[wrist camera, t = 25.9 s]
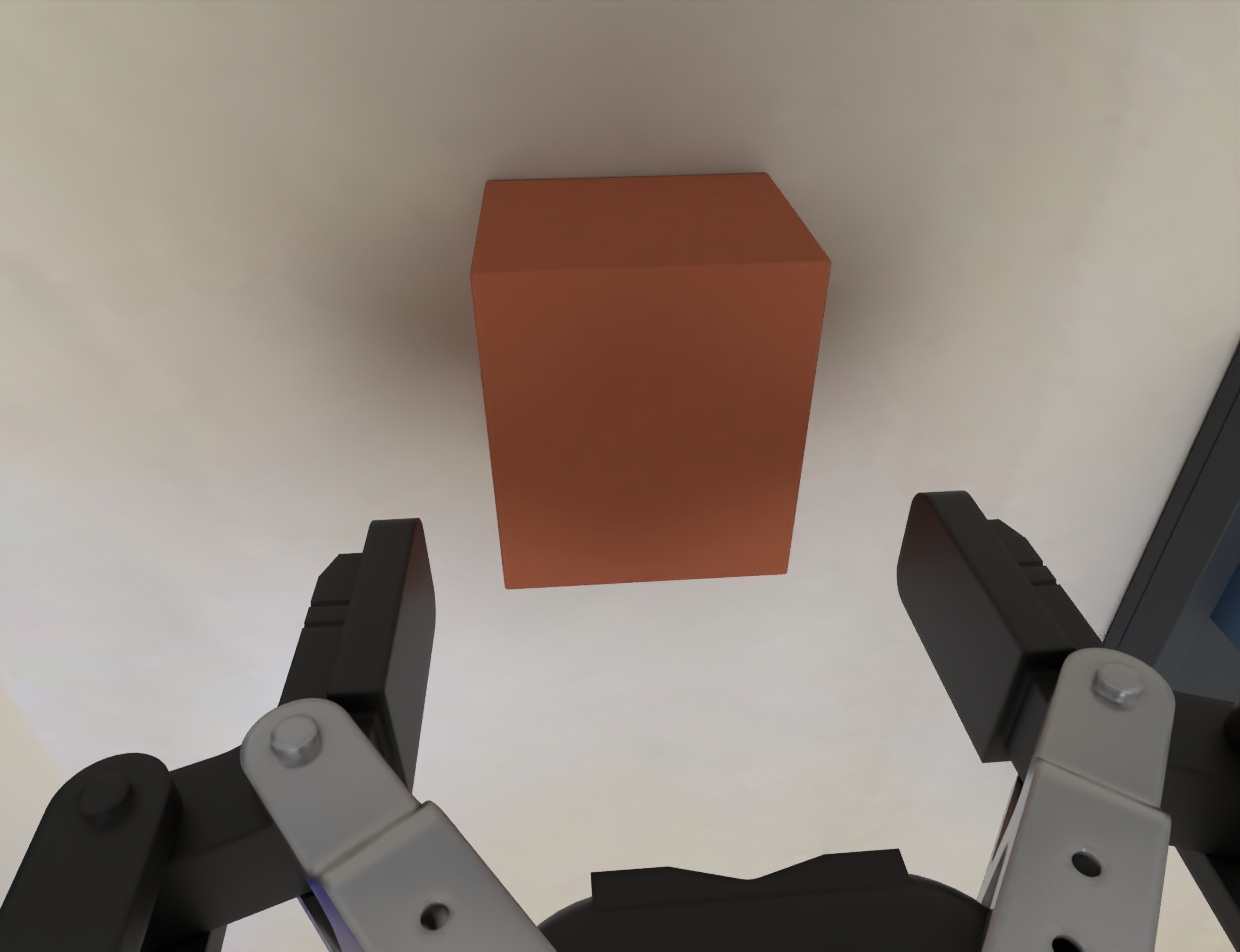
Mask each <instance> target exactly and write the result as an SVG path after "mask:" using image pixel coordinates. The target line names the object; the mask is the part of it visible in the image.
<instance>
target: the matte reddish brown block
mask: <svg viewBox="0 0 1240 952" xmlns="http://www.w3.org/2000/svg"><path fill="white" fill-rule="evenodd" d="M830 268H831V260H830V259H829V258H828V256H827V255H826V253H825V252H824V251H823V249H822V248H821V247H820V245H819V244H818V242H817V241H816V240H815V238H814V237H813V236H812V234H811V233H810V231H809V230H808V229H807V227H806V226H805V225H804V223H803V222H802V220H801V219H800V218H799V216H798V215H797V213H796V212H795V211H794V209H793V208H792V207H791V205H790V204H789V202H788V201H787V200H786V198H785V197H784V196H783V194H782V193H781V191H780V190H779V189H778V187H777V186H776V185H775V183H774V182H773V180H772V179H771V178H770V176H769V175H768V174H767V173H761V174H725V175H689V176H654V177H618V178H582V179H547V180H511V181H487V182H486V184H485V189H484V195H483V201H482V207H481V213H480V219H479V225H478V231H477V237H476V242H475V248H474V254H473V260H472V266H471V272H470V280H471V289H472V298H473V307H474V316H475V325H476V333H477V342H478V351H479V360H480V369H481V378H482V387H483V396H484V405H485V414H486V422H487V431H488V440H489V449H490V458H491V467H492V476H493V485H494V494H495V503H496V511H497V520H498V529H499V538H500V547H501V556H502V565H503V574H504V583H505V588H506V589H524V588H542V587H560V586H578V585H596V584H614V583H632V582H650V581H668V580H686V579H704V578H723V577H741V576H759V575H777V574H786V573H787V568H788V561H789V554H790V547H791V540H792V533H793V526H794V519H795V512H796V505H797V498H798V491H799V484H800V477H801V470H802V463H803V456H804V449H805V442H806V435H807V428H808V421H809V414H810V407H811V400H812V393H813V386H814V380H815V373H816V366H817V359H818V352H819V345H820V338H821V331H822V324H823V317H824V310H825V303H826V296H827V289H828V282H829V275H830Z"/></svg>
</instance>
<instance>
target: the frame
mask: <svg viewBox="0 0 1240 952" xmlns="http://www.w3.org/2000/svg"><path fill="white" fill-rule="evenodd" d="M1239 563H1240V347H1239V349H1238V351H1237V353H1236V355H1235V358H1234V360H1233V362H1232V364H1231V366H1230V369H1229V371H1228V373H1227V375H1226V377H1225V379H1224V382H1223V384H1222V386H1221V388H1220V390H1219V393H1218V395H1217V397H1216V399H1215V401H1214V404H1213V406H1212V408H1211V410H1210V412H1209V414H1208V417H1207V419H1206V421H1205V423H1204V425H1203V428H1202V430H1201V432H1200V434H1199V436H1198V438H1197V441H1196V443H1195V445H1194V447H1193V449H1192V452H1191V454H1190V456H1189V458H1188V460H1187V463H1186V465H1185V467H1184V469H1183V471H1182V473H1181V476H1180V478H1179V480H1178V482H1177V484H1176V487H1175V489H1174V491H1173V493H1172V495H1171V498H1170V500H1169V502H1168V504H1167V506H1166V508H1165V511H1164V513H1163V515H1162V517H1161V519H1160V522H1159V524H1158V526H1157V528H1156V530H1155V532H1154V535H1153V537H1152V539H1151V541H1150V543H1149V546H1148V548H1147V550H1146V552H1145V554H1144V557H1143V559H1142V561H1141V563H1140V565H1139V567H1138V570H1137V572H1136V574H1135V576H1134V578H1133V581H1132V583H1131V585H1130V587H1129V589H1128V592H1127V594H1126V596H1125V598H1124V600H1123V602H1122V605H1121V607H1120V609H1119V611H1118V613H1117V616H1116V618H1115V620H1114V622H1113V624H1112V626H1111V629H1110V631H1109V633H1108V635H1107V637H1106V640H1105V642H1104V645H1105V647H1106V648H1107V649H1111V650H1116V651H1119V652H1122V653H1125V654H1128V655H1130V656H1133V657H1135V658H1137V659H1139V660H1140V661H1142V662H1144V663H1145V664H1147V665H1148V666H1150V667H1151V668H1153V669H1154V670H1155V671H1156V672H1158V673H1159V674H1160V675H1161V676H1162V677H1163V678H1164V679H1165V681H1166V682H1167V683H1168V685H1169V686H1170V688H1171V690H1173V691H1177V692H1181V693H1187V694H1192V695H1197V696H1203V697H1208V698H1214V699H1219V700H1225V701H1230V702H1236V701H1237V699H1238V697H1239V696H1240V652H1239V650H1238V649H1237V648H1236V647H1235V646H1234V645H1233V644H1232V642H1231V641H1230V640H1229V639H1228V638H1227V637H1226V636H1225V635H1224V633H1223V632H1222V631H1221V630H1220V629H1219V628H1218V627H1217V625H1216V624H1215V623H1214V622H1213V621H1212V620H1211V619H1210V618H1209V617H1210V616H1211V614H1212V612H1213V610H1214V608H1215V606H1216V605H1217V603H1218V601H1219V599H1220V597H1221V595H1222V594H1223V592H1224V590H1225V588H1226V586H1227V584H1228V583H1229V581H1230V579H1231V577H1232V575H1233V574H1234V572H1235V570H1236V568H1237V566H1238V564H1239Z"/></svg>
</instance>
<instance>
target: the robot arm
mask: <svg viewBox="0 0 1240 952" xmlns="http://www.w3.org/2000/svg"><path fill="white" fill-rule="evenodd" d="M897 585H898V591H899V595H900V598H901V600H902V603H903V605H904V607H905V609H906V611H907V613H908V615H909V617H910V619H911V621H912V623H913V625H914V627H915V629H916V631H917V633H918V635H919V637H920V639H921V641H922V643H923V645H924V647H925V649H926V651H927V653H928V655H929V657H930V659H931V661H932V663H933V665H934V667H935V669H936V671H937V673H938V675H939V677H940V679H941V681H942V683H943V685H944V687H945V689H946V691H947V693H948V695H949V697H950V699H951V701H952V703H953V705H954V707H955V709H956V711H957V713H958V715H959V717H960V719H961V721H962V723H963V725H964V727H965V729H966V731H967V733H968V735H969V737H970V739H971V741H972V743H973V745H974V747H975V749H976V751H977V753H978V755H979V757H980V759H981V761H982V763H989V762H1003V761H1012V763H1013V765H1014V767H1015V769H1016V771H1017V773H1018V775H1017V777H1016V780H1015V782H1014V785H1013V787H1012V790H1011V793H1010V797H1009V800H1008V803H1007V806H1006V809H1005V813H1004V816H1003V819H1002V822H1001V825H1000V829H999V832H998V835H997V838H996V841H995V844H994V848H993V851H992V854H991V857H990V860H989V864H988V867H987V870H986V873H985V876H984V879H983V882H982V885H981V888H980V891H979V894H978V897H977V899H976V900H975V899H974V898H972V897H970V896H968V895H966V894H964V893H962V892H960V891H958V890H957V889H955V888H952V887H950V886H947V885H945V884H942V883H940V882H938V881H935V880H931V879H928V878H924V877H921V876H918V875H913V874H908V872H907V869H906V867H905V864H904V861H903V858H902V856H901V853H900V850H899V849H888V850H875V851H862V852H849V853H836V854H824V855H821V856H819V857H816V858H813V859H810V860H807V861H805V862H802V863H799V864H796V865H793V866H791V867H788V868H785V869H782V870H779V871H777V872H774V873H771V874H768V875H765V876H763V877H760V878H756V879H750V880H745V879H738V878H732V877H726V876H720V875H714V874H708V873H703V872H697V871H691V870H685V869H679V868H673V867H656V868H643V869H630V870H617V871H604V872H591V885H592V897H589V898H586V899H584V900H581V901H578V902H576V903H574V904H572V905H570V906H568V907H566V908H564V909H562V910H560V911H558V912H556V913H555V914H553V915H552V916H550V917H549V918H547V919H546V920H544V921H543V922H542V923H540V924H539V925H538V926H536V925H535V924H534V923H533V921H532V920H531V919H530V918H529V916H528V915H527V914H526V913H525V912H524V910H523V909H522V908H521V907H520V905H519V904H518V903H517V902H516V900H515V899H514V898H513V897H512V896H511V894H510V893H509V892H508V891H507V889H506V888H505V887H504V886H503V884H502V883H501V882H500V881H499V879H498V878H497V877H496V876H495V875H494V873H493V872H492V871H491V870H490V868H489V867H488V866H487V865H486V863H485V862H484V861H483V860H482V859H481V857H480V856H479V855H478V854H477V852H476V851H475V850H474V849H473V847H472V846H471V845H470V844H469V843H468V841H467V840H466V839H465V838H464V836H463V835H462V834H461V833H460V831H459V830H458V829H457V828H456V827H455V825H454V824H453V823H452V822H451V820H450V819H449V818H448V817H447V815H446V814H445V813H444V812H443V811H442V810H441V809H440V808H439V807H438V806H437V805H436V804H435V803H434V802H432V801H429V800H428V801H426V802H424V803H423V804H421V803H420V802H419V801H418V800H417V799H416V798H415V797H414V796H413V795H412V790H413V783H414V776H415V768H416V761H417V754H418V747H419V739H420V732H421V725H422V718H423V711H424V703H425V696H426V689H427V682H428V674H429V667H430V660H431V653H432V646H433V638H434V631H435V618H436V608H435V593H434V586H433V581H432V575H431V569H430V564H429V558H428V553H427V547H426V541H425V536H424V530H423V525H422V522H421V520H420V518H409V519H390V520H373V521H372V522H371V524H370V526H369V530H368V534H367V538H366V541H365V545H364V549H363V553H351V554H339V555H338V556H337V557H336V558H335V559H334V560H333V561H332V563H331V564H330V565H329V566H328V567H327V568H326V569H325V570H324V572H323V573H322V574H321V575H320V576H319V577H318V581H317V584H316V587H315V590H314V593H313V596H312V600H311V607H309V609H308V612H307V616H306V619H305V622H304V624H305V626H304V628H302V631H301V635H300V638H299V641H298V644H297V647H296V651H295V654H294V657H293V660H292V663H291V667H290V670H289V673H288V676H287V679H286V682H285V686H284V689H283V692H282V695H281V698H280V702H279V704H278V707H277V708H275V709H273V710H271V711H270V712H268V713H267V714H265V715H264V716H263V717H261V718H260V719H259V720H258V721H257V722H256V723H255V724H254V725H253V726H252V727H251V729H250V730H249V731H248V733H247V734H246V736H245V738H244V740H243V742H242V745H240V746H238V747H236V748H234V749H232V750H230V751H228V752H226V753H223V754H221V755H218V756H215V757H212V758H209V759H206V760H203V761H200V762H197V763H194V764H191V765H188V766H185V767H182V768H179V769H176V770H173V771H170V772H169V771H168V769H167V768H166V766H165V764H164V763H163V762H161V761H160V760H159V759H157V758H156V757H154V756H151V755H147V754H142V753H126V754H120V755H115V756H112V757H109V758H105V759H103V760H101V761H98V762H96V763H94V764H92V765H90V766H88V767H86V768H85V769H83V770H82V771H80V772H79V773H77V774H76V775H74V776H73V777H72V778H71V779H70V780H68V781H67V782H66V783H65V784H64V785H63V786H62V787H61V788H60V789H59V790H58V792H57V793H56V794H55V795H54V797H53V798H52V799H51V801H50V803H49V805H48V806H47V808H46V810H45V813H44V815H43V817H42V819H41V821H40V824H39V826H38V828H37V830H36V832H35V834H34V837H33V839H32V841H31V843H30V845H29V848H28V850H27V852H26V854H25V856H24V858H23V860H22V863H21V865H20V867H19V869H18V871H17V874H16V876H15V878H14V880H13V883H12V884H11V887H10V889H9V891H8V893H7V895H6V898H5V900H4V902H3V904H2V906H1V908H0V952H221V949H222V944H223V940H224V936H225V932H226V927H227V924H229V923H232V922H234V921H237V920H239V919H242V918H245V917H247V916H250V915H252V914H255V913H257V912H260V911H262V910H265V909H268V908H270V907H273V906H275V905H278V904H280V903H283V902H285V901H288V900H290V899H293V898H296V897H297V899H298V900H299V902H300V904H301V905H302V907H303V909H304V910H305V912H306V914H307V915H308V917H309V919H310V920H311V922H312V924H313V925H314V927H315V929H316V930H317V932H318V934H319V935H320V937H321V939H322V940H323V942H324V944H325V945H326V947H327V949H328V950H329V952H1154V949H1155V942H1156V935H1157V927H1158V920H1159V913H1160V905H1161V898H1162V890H1163V883H1164V876H1165V868H1166V861H1167V854H1168V846H1169V845H1170V846H1175V848H1176V849H1177V851H1178V853H1179V854H1180V856H1181V858H1182V860H1183V861H1184V863H1185V865H1186V866H1187V868H1188V870H1189V871H1190V873H1191V875H1192V877H1193V878H1194V880H1195V882H1196V883H1197V885H1198V887H1199V888H1200V890H1201V892H1202V894H1203V895H1204V897H1205V899H1206V900H1207V902H1208V904H1209V905H1210V907H1211V909H1212V911H1213V912H1214V914H1215V916H1216V917H1217V919H1218V921H1219V922H1220V924H1221V926H1222V928H1223V929H1224V931H1225V933H1226V934H1227V936H1228V938H1229V940H1230V941H1231V943H1232V945H1233V946H1234V948H1235V950H1236V951H1237V952H1240V696H1239V697H1238V699H1237V701H1236V702H1230V701H1225V700H1219V699H1214V698H1208V697H1203V696H1197V695H1192V694H1187V693H1181V692H1177V691H1173V690H1171V688H1170V686H1169V685H1168V683H1167V682H1166V681H1165V679H1164V678H1163V677H1162V676H1161V675H1160V674H1159V673H1158V672H1156V671H1155V670H1154V669H1153V668H1151V667H1150V666H1148V665H1147V664H1145V663H1144V662H1142V661H1140V660H1139V659H1137V658H1135V657H1133V656H1130V655H1128V654H1125V653H1122V652H1119V651H1116V650H1111V649H1107V648H1106V647H1105V645H1104V644H1103V643H1102V641H1101V640H1100V639H1099V637H1098V636H1097V635H1096V633H1095V632H1094V630H1093V629H1092V628H1091V626H1090V625H1089V624H1088V622H1087V621H1086V620H1085V618H1084V617H1083V615H1082V614H1081V613H1080V611H1079V610H1078V609H1077V607H1076V606H1075V605H1074V603H1073V602H1072V600H1071V599H1070V598H1069V596H1068V595H1067V594H1066V592H1065V591H1064V590H1063V588H1062V587H1061V585H1060V584H1059V585H1057V584H1056V579H1055V577H1054V576H1053V575H1052V573H1051V572H1050V570H1049V569H1048V568H1047V566H1043V561H1042V560H1041V558H1040V557H1039V555H1038V554H1037V553H1036V551H1035V550H1034V549H1033V547H1032V546H1031V545H1030V543H1029V542H1028V540H1027V539H1026V538H1025V537H1023V536H1022V535H1020V534H1019V533H1018V532H1016V531H1015V530H1013V529H1012V528H1011V527H1009V526H1008V525H1006V524H1005V523H1004V522H1002V521H1001V520H999V519H995V520H987V519H986V517H985V516H984V514H983V513H982V511H981V510H980V509H979V507H978V506H977V504H976V503H975V501H974V500H973V498H972V497H971V496H970V495H969V493H967V492H966V491H945V492H926V493H918V494H916V495H915V497H914V498H913V501H912V504H911V508H910V512H909V516H908V521H907V525H906V529H905V534H904V538H903V542H902V547H901V551H900V555H899V560H898V564H897Z"/></svg>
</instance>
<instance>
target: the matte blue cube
mask: <svg viewBox="0 0 1240 952" xmlns="http://www.w3.org/2000/svg"><path fill="white" fill-rule="evenodd" d="M1209 618H1210V619H1211V620H1212V621H1213V622H1214V623H1215V624H1216V625H1217V627H1218V628H1219V629H1220V630H1221V631H1222V632H1223V633H1224V635H1225V636H1226V637H1227V638H1228V639H1229V640H1230V641H1231V642H1232V644H1233V645H1234V646H1235V647H1236V648H1237V649H1238V650H1239V652H1240V563H1239V564H1238V566H1237V568H1236V570H1235V572H1234V574H1233V575H1232V577H1231V579H1230V581H1229V583H1228V584H1227V586H1226V588H1225V590H1224V592H1223V594H1222V595H1221V597H1220V599H1219V601H1218V603H1217V605H1216V606H1215V608H1214V610H1213V612H1212V614H1211V616H1210V617H1209Z"/></svg>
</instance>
